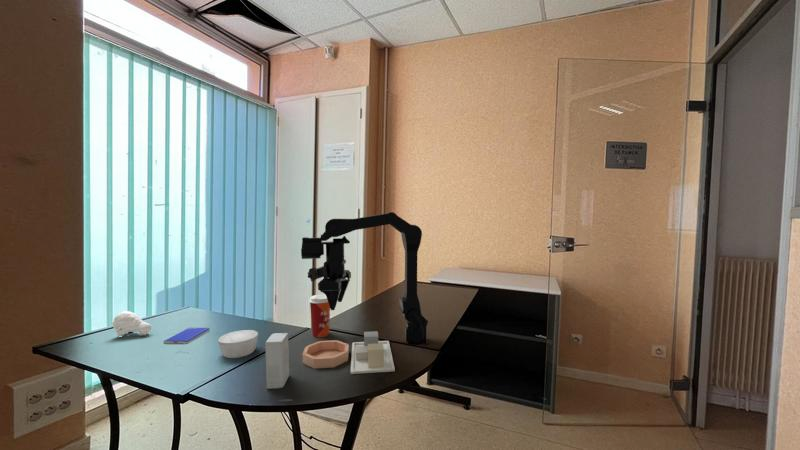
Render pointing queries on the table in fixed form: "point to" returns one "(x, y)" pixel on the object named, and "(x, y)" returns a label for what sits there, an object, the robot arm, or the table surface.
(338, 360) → the terracotta dish
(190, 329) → the hard drive
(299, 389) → the table surface
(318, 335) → the paper cup
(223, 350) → the ramekin
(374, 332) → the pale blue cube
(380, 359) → the cream cube
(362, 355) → the beige grey block
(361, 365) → the parts tray
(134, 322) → the white animal figurine
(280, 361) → the skincare box
